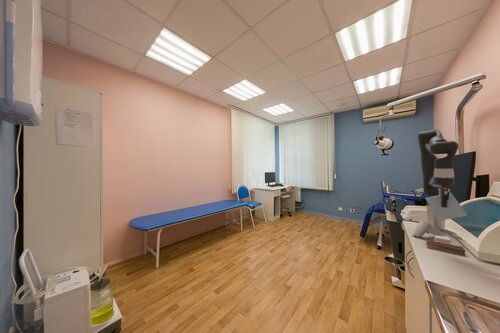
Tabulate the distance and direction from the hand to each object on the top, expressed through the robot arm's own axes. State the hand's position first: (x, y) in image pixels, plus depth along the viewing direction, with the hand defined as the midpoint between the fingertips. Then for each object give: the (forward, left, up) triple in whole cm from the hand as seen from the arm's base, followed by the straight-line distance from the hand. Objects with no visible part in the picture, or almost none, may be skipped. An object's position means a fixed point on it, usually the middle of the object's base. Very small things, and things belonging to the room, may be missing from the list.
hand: (444, 206), depth 95 cm
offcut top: (-9, 0, -22) cm, 24 cm away
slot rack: (0, 0, -24) cm, 24 cm away
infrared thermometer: (-23, -1, -26) cm, 34 cm away
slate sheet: (0, +3, -6) cm, 6 cm away
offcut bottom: (-9, 0, -25) cm, 26 cm away
